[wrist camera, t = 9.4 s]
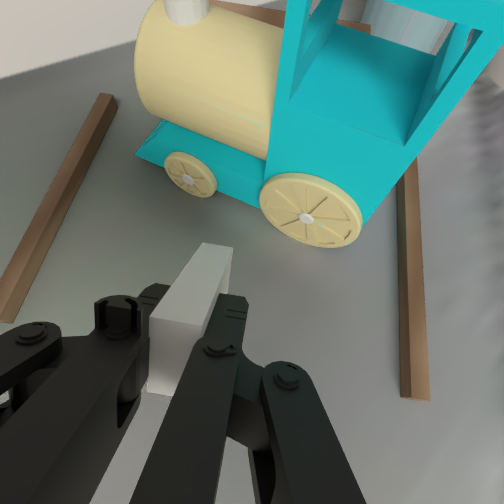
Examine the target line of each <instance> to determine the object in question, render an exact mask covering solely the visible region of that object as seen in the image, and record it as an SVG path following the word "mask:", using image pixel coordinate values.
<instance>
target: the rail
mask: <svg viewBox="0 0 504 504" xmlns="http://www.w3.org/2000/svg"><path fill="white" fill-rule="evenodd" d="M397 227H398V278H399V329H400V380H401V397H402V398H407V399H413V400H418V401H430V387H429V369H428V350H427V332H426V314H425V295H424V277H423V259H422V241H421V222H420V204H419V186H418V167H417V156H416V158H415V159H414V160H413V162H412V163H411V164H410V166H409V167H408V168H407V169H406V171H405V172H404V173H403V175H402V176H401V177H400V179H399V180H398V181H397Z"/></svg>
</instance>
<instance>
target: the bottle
mask: <svg viewBox="0 0 504 504" xmlns="http://www.w3.org/2000/svg"><path fill="white" fill-rule="evenodd" d="M447 22H448V20H445V19H442V18H439V17H436V16H433V15H429V14H426V13H423V12H420V11H417V10H413V9H410V8H407V7H404V6H400V5H397V4H394V3H391V2H388V1H384V0H367V3H366V6H365V9H364V12H363V15H362V18H361V21H360V23H364V24H370V25H371V35H374V36H377V37H380V38H383V39H386V40H389V41H392V42H395V43H398V44H401V45H404V46H407V47H410V48H413V49H416V50H419V51H422V52H425V53H428V54H429V53H430V51H431V50H432V48H433V46H434V44H435V43H436V41H437V39H438V37H439V36H440V34H441V32H442V30H443V29H444V27H445V25H446V23H447Z"/></svg>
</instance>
